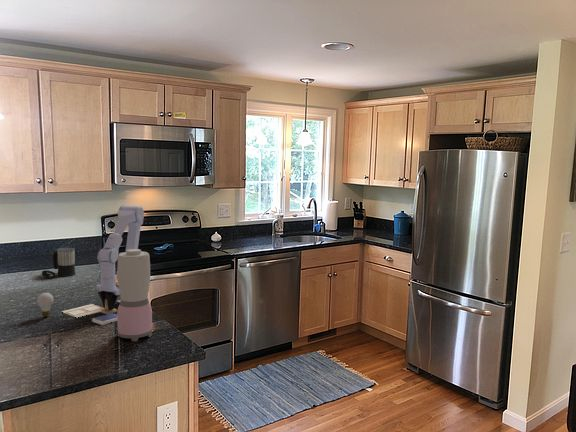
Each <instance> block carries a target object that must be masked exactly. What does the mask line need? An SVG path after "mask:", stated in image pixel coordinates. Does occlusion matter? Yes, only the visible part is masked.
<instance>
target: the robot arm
mask: <svg viewBox="0 0 576 432" xmlns="http://www.w3.org/2000/svg"><path fill="white" fill-rule="evenodd" d="M117 217H118V220H117V222H116V224H115V227H114V231H113V233H110V234H108V238H107V240H106V241H105V244H104V246H103V248H101V249H100V250H99V251H98V252H97V256H96V258H97V261H98V265H99V267H100V283H97V284H96V290H98V292H97V295H98V297H99V298H100V300H101V303H102V307H103V308H105V299H107V302H108V309H109V310H112V309H115V305H116V302H117V303H119V304H120V302H121V299H119V300H117V299H118V298H119V295H120V292H119V287H118V286H116V285H117V284H116V282H117V281H118V272H117V271H116V262H118V255H119V254H120V253H119V249H120V246H121V244H122V242H123V239H124V238H123V237H122V236H123V235H124V232H125V231H126V229H127V227H128V231H127V238H126V246H125V251H126V250H129V249H139V243H140V242H139V241H140V233H141V226H142V225H143V224H144V217H145V211H144V208H143V206H141V205H123V204H121V205H120V206H119V207H118V211H117Z"/></svg>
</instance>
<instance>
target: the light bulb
mask: <svg viewBox="0 0 576 432" xmlns="http://www.w3.org/2000/svg"><path fill="white" fill-rule="evenodd" d="M36 303H37V305H38V306H39V307H40V310H41V313H42V314H41V315H42V316H43V317H45V318H47V317H49V316H50V311H51V307H52V305H53V304H54V296H53V295H52V294H51V293H49V292H43V293H41V294H39V296H38V297H37V299H36Z"/></svg>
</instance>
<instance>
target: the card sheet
mask: <svg viewBox="0 0 576 432" xmlns="http://www.w3.org/2000/svg"><path fill="white" fill-rule="evenodd" d="M102 309H105V308H104V307H103V306H99V305H96V304H94V303H90V304H87V305H82V306H79V307H74V308H70V309H65V310H62V311H61V313H62V312H63V313H62V314H65V315H67V316H70V317H73V318H75V317H76V319H78V317H79V318H82V316H83V317H86V315H87V316H89V315H93V314H96V313H101V310H102Z"/></svg>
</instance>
